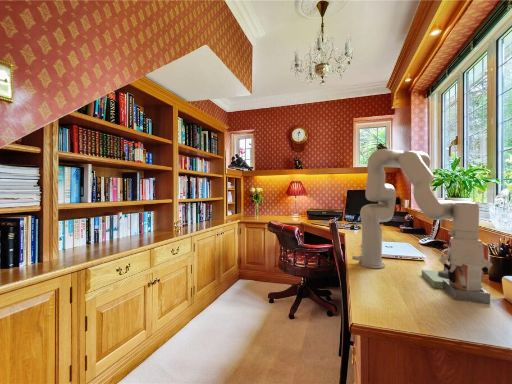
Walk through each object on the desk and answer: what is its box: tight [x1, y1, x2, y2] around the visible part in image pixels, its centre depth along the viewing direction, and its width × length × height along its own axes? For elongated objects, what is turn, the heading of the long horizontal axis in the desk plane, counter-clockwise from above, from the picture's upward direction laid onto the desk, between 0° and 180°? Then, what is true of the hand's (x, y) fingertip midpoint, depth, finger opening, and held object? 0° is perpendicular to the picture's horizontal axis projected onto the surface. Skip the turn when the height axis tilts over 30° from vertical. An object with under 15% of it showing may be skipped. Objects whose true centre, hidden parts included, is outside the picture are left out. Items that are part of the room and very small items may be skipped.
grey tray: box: [442, 279, 491, 305], centre depth 97 cm, size 10×12×4 cm
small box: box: [449, 264, 483, 292], centre depth 97 cm, size 8×6×10 cm
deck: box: [421, 269, 483, 289], centre depth 111 cm, size 16×16×6 cm
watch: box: [440, 248, 450, 271], centre depth 126 cm, size 6×8×11 cm
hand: (464, 282), depth 97 cm, fingers closed on small box, 7 cm apart
